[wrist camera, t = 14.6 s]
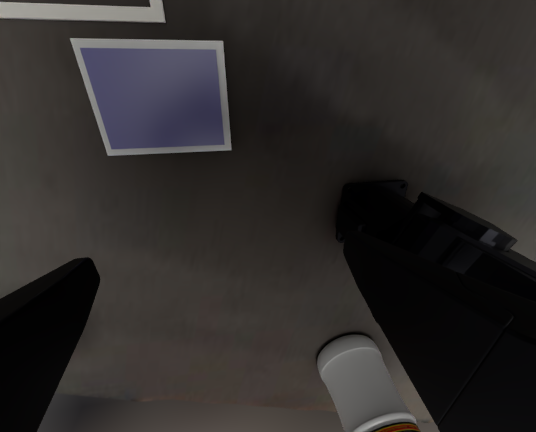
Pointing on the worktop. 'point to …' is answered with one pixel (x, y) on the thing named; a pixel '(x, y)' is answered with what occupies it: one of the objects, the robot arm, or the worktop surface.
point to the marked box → (83, 12)
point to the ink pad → (156, 94)
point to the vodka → (363, 387)
